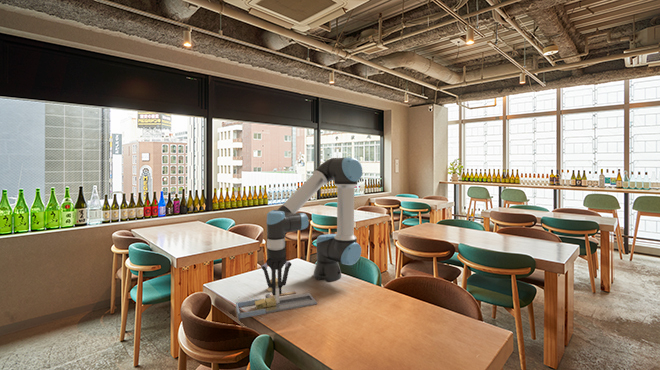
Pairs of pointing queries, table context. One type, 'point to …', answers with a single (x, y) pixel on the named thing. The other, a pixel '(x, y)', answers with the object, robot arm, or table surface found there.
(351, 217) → the robot arm
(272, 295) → the hammer
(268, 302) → the yellow square block
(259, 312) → the tray
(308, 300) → the slot board
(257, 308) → the chip
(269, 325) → the table surface
